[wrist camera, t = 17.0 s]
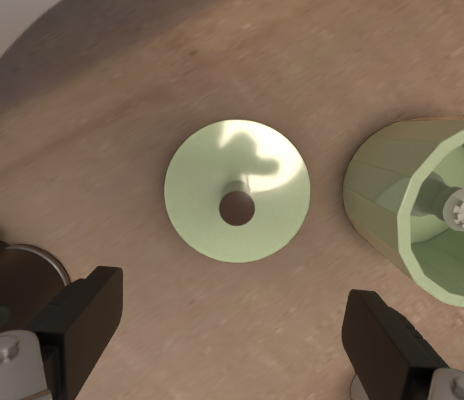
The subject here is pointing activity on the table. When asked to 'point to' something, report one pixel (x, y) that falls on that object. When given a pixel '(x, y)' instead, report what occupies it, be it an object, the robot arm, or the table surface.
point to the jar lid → (237, 191)
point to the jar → (410, 200)
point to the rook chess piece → (440, 202)
